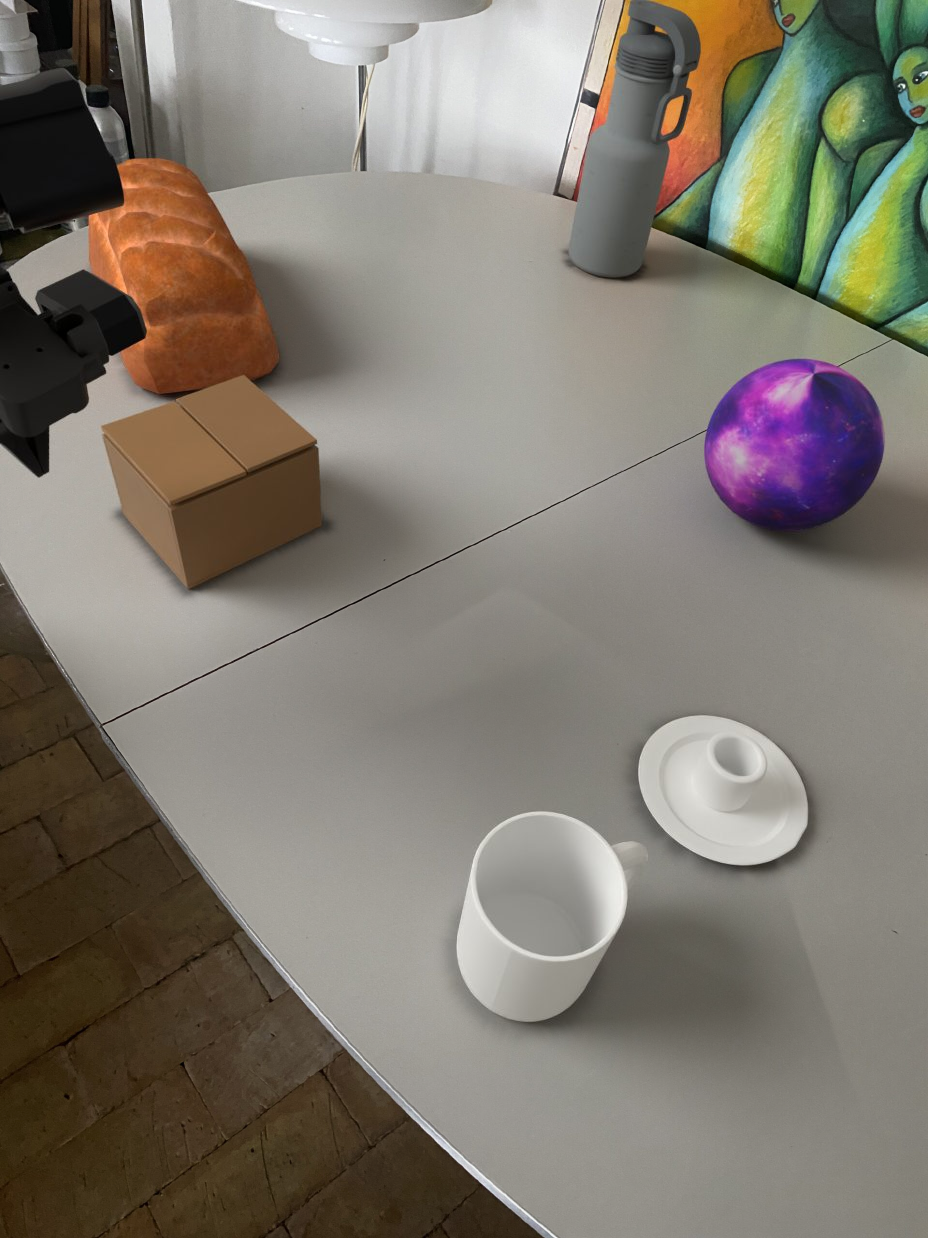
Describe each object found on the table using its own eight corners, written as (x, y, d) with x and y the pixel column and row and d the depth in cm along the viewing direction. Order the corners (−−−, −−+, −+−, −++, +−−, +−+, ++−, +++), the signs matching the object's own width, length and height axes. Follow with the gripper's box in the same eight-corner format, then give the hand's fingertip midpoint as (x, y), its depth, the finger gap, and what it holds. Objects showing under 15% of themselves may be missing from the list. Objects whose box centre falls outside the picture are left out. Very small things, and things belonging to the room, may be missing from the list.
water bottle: (658, 265, 114) (724, 14, 93) (616, 289, 109) (676, 29, 88) (595, 236, 118) (646, -11, 97) (552, 258, 113) (595, 2, 92)
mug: (588, 845, 58) (623, 763, 51) (664, 955, 54) (714, 883, 46) (430, 926, 54) (442, 849, 46) (499, 1054, 49) (524, 992, 42)
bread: (135, 406, 85) (106, 279, 75) (85, 255, 103) (56, 136, 93) (291, 380, 90) (283, 258, 81) (217, 240, 108) (203, 127, 99)
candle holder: (834, 855, 60) (861, 824, 56) (671, 883, 57) (690, 853, 54) (759, 712, 67) (780, 678, 64) (613, 731, 65) (626, 697, 61)
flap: (170, 505, 64) (169, 501, 63) (101, 430, 69) (100, 425, 68) (246, 475, 67) (246, 471, 66) (175, 404, 72) (174, 400, 71)
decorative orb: (667, 458, 87) (713, 322, 76) (809, 460, 89) (873, 327, 78) (708, 565, 77) (767, 427, 66) (866, 565, 79) (949, 430, 68)
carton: (188, 589, 70) (169, 502, 63) (123, 514, 75) (99, 425, 68) (322, 525, 76) (318, 439, 69) (254, 460, 81) (244, 373, 74)
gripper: (-173, 399, 39) (-23, 616, 51) (167, 237, 48) (226, 455, 60) (-278, 305, 43) (-117, 525, 56) (51, 173, 52) (128, 389, 64)
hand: (40, 472), depth 59 cm, fingers closed
